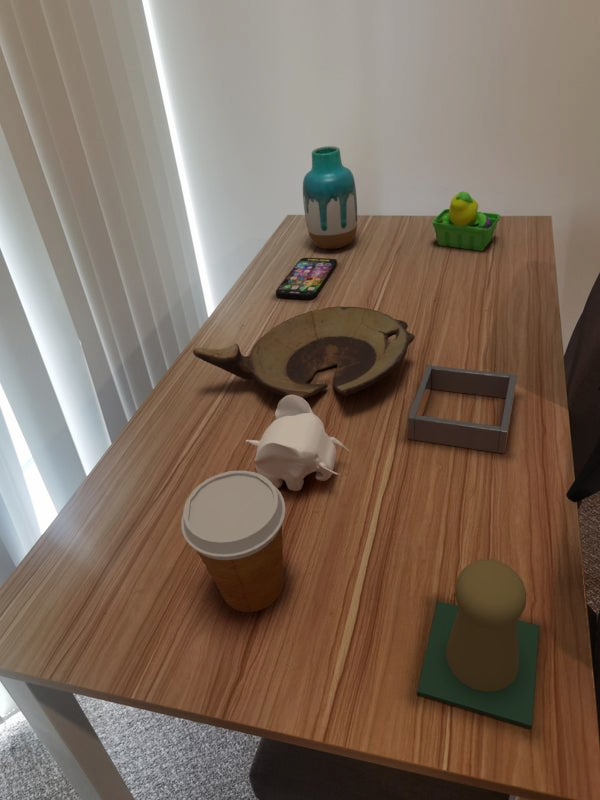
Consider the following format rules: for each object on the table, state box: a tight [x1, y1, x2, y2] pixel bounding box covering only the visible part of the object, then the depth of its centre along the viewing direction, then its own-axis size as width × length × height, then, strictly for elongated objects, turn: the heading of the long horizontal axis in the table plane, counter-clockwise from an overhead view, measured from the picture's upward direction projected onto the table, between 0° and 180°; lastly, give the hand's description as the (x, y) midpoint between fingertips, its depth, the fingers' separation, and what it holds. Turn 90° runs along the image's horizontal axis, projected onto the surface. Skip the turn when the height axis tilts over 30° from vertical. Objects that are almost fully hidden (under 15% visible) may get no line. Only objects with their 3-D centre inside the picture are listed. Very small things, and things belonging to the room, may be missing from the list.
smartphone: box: [275, 257, 338, 300], centre depth 113 cm, size 8×1×15 cm
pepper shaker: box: [446, 558, 527, 692], centre depth 48 cm, size 6×6×11 cm
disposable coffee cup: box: [180, 470, 286, 613], centre depth 57 cm, size 10×10×12 cm
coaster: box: [416, 600, 540, 730], centre depth 52 cm, size 9×9×1 cm
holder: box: [407, 364, 518, 455], centre depth 76 cm, size 12×12×4 cm
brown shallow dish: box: [192, 306, 416, 399], centre depth 87 cm, size 22×30×8 cm
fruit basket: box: [431, 191, 501, 252], centre depth 115 cm, size 11×9×11 cm
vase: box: [302, 145, 358, 250], centre depth 119 cm, size 11×11×19 cm
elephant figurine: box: [245, 395, 350, 492], centre depth 70 cm, size 10×12×9 cm
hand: (599, 544), depth 44 cm, fingers open, 9 cm apart
